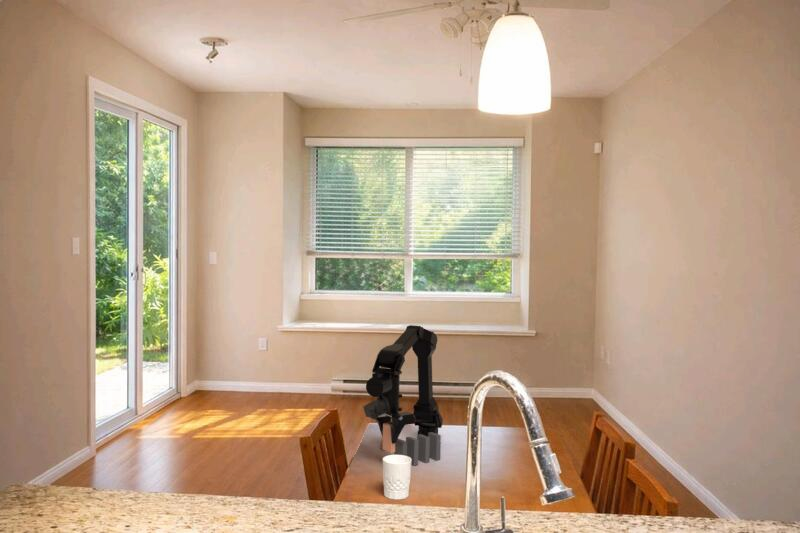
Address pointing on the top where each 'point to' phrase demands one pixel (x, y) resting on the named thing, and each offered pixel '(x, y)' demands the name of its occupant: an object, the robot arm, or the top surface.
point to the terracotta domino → (387, 439)
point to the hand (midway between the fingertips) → (389, 441)
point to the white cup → (396, 476)
